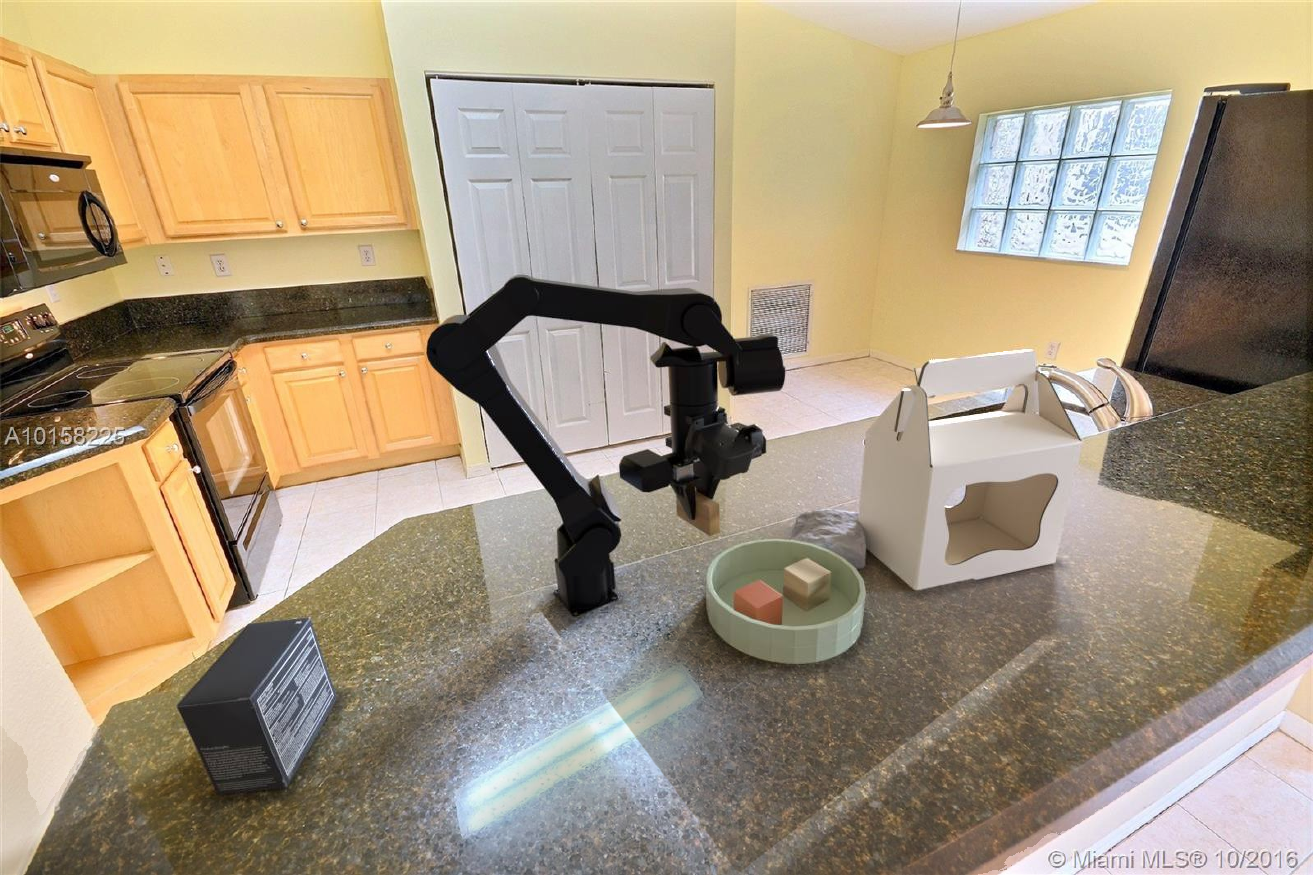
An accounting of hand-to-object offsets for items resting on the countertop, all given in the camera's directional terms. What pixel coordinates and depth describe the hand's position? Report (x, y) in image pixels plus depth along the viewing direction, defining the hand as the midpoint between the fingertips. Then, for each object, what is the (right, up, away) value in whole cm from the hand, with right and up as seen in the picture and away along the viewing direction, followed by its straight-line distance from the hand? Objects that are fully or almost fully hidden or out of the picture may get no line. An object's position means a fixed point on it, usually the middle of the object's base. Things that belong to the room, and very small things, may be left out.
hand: (697, 516), depth 73 cm
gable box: (+36, -6, +7) cm, 37 cm away
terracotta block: (+7, -12, -6) cm, 14 cm away
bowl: (+10, -11, -4) cm, 16 cm away
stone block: (+19, -6, +9) cm, 22 cm away
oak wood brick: (0, -1, 0) cm, 1 cm away
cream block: (+13, -10, -2) cm, 17 cm away
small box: (-41, -19, -18) cm, 49 cm away
